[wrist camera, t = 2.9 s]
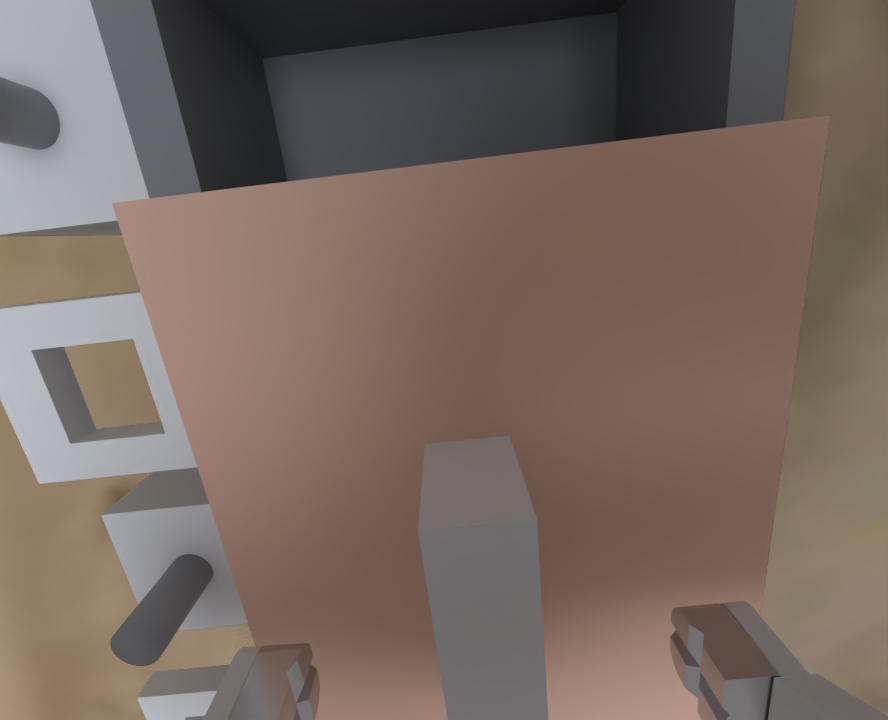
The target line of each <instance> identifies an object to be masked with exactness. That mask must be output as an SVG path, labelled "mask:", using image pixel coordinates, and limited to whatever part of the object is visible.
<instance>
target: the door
mask: <svg viewBox="0 0 888 720" xmlns="http://www.w3.org/2000/svg"><path fill="white" fill-rule="evenodd" d="M830 117H831V115H825V116H817V117H809V118H801V119H793V120H785V121H777V122H768V123H760V124H752V125H744V126H736V127H728V128H720V129H711V130H703V131H695V132H687V133H679V134H671V135H663V136H654V137H646V138H638V139H630V140H622V141H614V142H606V143H597V144H589V145H581V146H573V147H565V148H557V149H549V150H540V151H532V152H524V153H516V154H508V155H500V156H492V157H483V158H475V159H467V160H459V161H451V162H443V163H435V164H426V165H418V166H410V167H402V168H394V169H386V170H378V171H369V172H361V173H353V174H345V175H337V176H329V177H321V178H312V179H304V180H296V181H288V182H280V183H272V184H264V185H255V186H247V187H239V188H231V189H223V190H215V191H207V192H198V193H190V194H182V195H174V196H166V197H158V198H150V199H141V200H133V201H125V202H117V203H112V205H113V209H114V212H115V215H116V218H117V221H118V224H119V227H120V230H121V233H122V236H123V239H124V242H125V246H126V249H127V252H128V255H129V258H130V261H131V264H132V267H133V270H134V273H135V276H136V279H137V282H138V286H139V289H140V291H132V292H124V293H115V294H107V295H98V296H90V297H81V298H72V299H64V300H55V301H47V302H38V303H30V304H21V305H12V306H4V307H0V399H1V401H2V404H3V406H4V408H5V410H6V412H7V415H8V417H9V419H10V421H11V423H12V426H13V428H14V430H15V432H16V434H17V436H18V439H19V441H20V443H21V445H22V447H23V450H24V452H25V454H26V456H27V458H28V461H29V463H30V465H31V467H32V469H33V472H34V474H35V476H36V478H37V480H38V482H39V484H42V483H52V482H61V481H71V480H80V479H90V478H99V477H109V476H119V475H128V474H138V473H147V472H157V471H167V470H176V469H186V468H195V467H198V470H199V474H200V477H201V480H202V483H203V486H204V489H205V492H206V495H207V498H208V501H209V504H210V507H211V511H212V514H213V517H214V520H215V523H216V526H217V529H218V532H219V535H220V538H221V541H222V544H223V547H224V551H225V554H226V557H227V560H228V563H229V566H230V569H231V572H232V575H233V578H234V581H235V584H236V588H237V591H238V594H239V597H240V600H241V603H242V606H243V609H244V612H245V615H246V618H247V621H248V625H249V628H250V631H251V634H252V637H253V640H254V643H255V646H268V645H284V644H300V643H310V646H311V649H312V652H313V657H312V660H311V663H310V664H311V665H312V666H314V667H315V668H316V669H317V671H318V675H319V681H320V695H319V705H318V709H317V713H316V717H315V720H702V719H701V717H700V715H699V713H698V712H697V710H698V698H697V697H696V696H694V695H693V694H692V693H690V692H689V691H688V690H687V689H685V687H684V686H683V684H682V682H681V680H680V678H679V676H678V674H677V671H676V669H675V666H674V664H673V660H672V655H671V651H670V636H671V635H672V634H673V633H674V632H675V631H676V629H675V627H674V626H673V624H672V622H671V613H672V611H673V609H674V608H676V607H685V606H695V605H704V604H713V603H719V604H720V603H728V602H738V601H745V602H747V603H748V604H750V605H751V606H752V607H753V608H754V610H755V611H756V612H757V613H758V614H759V615H760V616H761V609H762V602H763V594H764V587H765V580H766V573H767V566H768V559H769V552H770V544H771V537H772V530H773V523H774V516H775V509H776V502H777V495H778V487H779V480H780V473H781V466H782V459H783V452H784V445H785V437H786V430H787V423H788V416H789V409H790V402H791V395H792V388H793V380H794V373H795V366H796V359H797V352H798V345H799V338H800V330H801V323H802V316H803V309H804V302H805V295H806V288H807V281H808V273H809V266H810V259H811V252H812V245H813V238H814V231H815V223H816V216H817V209H818V202H819V195H820V188H821V181H822V174H823V166H824V159H825V152H826V145H827V138H828V131H829V124H830ZM127 339H133V340H134V343H135V346H136V349H137V352H138V355H139V357H140V360H141V363H142V366H143V369H144V372H145V375H146V378H147V381H148V384H149V387H150V390H151V393H152V396H153V399H154V401H155V404H156V407H157V410H158V413H159V416H160V419H161V422H157V423H148V424H139V425H129V426H120V427H111V428H101V429H96V428H95V425H94V423H93V420H92V418H91V415H90V413H89V410H88V408H87V405H86V403H85V400H84V397H83V395H82V392H81V390H80V387H79V385H78V382H77V380H76V377H75V375H74V372H73V369H72V367H71V364H70V362H69V359H68V357H67V354H66V352H65V349H64V347H65V346H74V345H83V344H92V343H101V342H109V341H118V340H127ZM229 666H230V665H222V666H211V667H200V668H189V669H178V670H167V671H156V672H153V674H152V676H151V677H150V679H149V680H148V682H147V683H146V685H145V686H144V688H143V689H142V691H141V692H140V694H139V695H138V697H137V699H138V701H139V704H140V706H141V708H142V710H143V712H144V715H145V717H146V719H147V720H203V719H204V717H205V715H206V713H207V711H208V709H209V707H210V704H211V702H212V700H213V698H214V696H215V694H216V692H217V690H218V688H219V686H220V684H221V682H222V680H223V678H224V676H225V674H226V672H227V670H228V668H229Z"/></svg>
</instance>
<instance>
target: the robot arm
mask: <svg viewBox="0 0 888 720" xmlns="http://www.w3.org/2000/svg"><path fill="white" fill-rule="evenodd" d="M671 622H672V624H673V626H674V627H675V629H676V631H675V632H674V633H673V634H672V635H671V636H670V651H671V655H672V660H673V664H674V666H675V669H676V671H677V674H678V676H679V678H680V680H681V682H682V684H683V686H684V687H685V689H687V690H688V691H689V692H690V693H692V694H693V695H694V696H696V697H697V698H698V710H697V712H698V713H699V715H700V717H701V719H702V720H888V717H887V716H886V715H884V714H882V713H881V712H879V711H878V710H876V709H874V708H873V707H871V706H869V705H868V704H866V703H864V702H863V701H861V700H859V699H858V698H856V697H854V696H853V695H851V694H850V693H848V692H846V691H845V690H843V689H841V688H840V687H838V686H836V685H835V684H833V683H831V682H830V681H828V680H826V679H825V678H823V677H822V676H820V675H818V674H809V673H808V672H807V671H806V670H805V668H804V667H803V666H802V665H801V664H800V662H799V661H798V660H797V659H796V658H795V657H794V655H793V654H792V653H791V652H790V651H789V650H788V648H787V647H786V646H785V645H784V644H783V642H782V641H781V640H780V639H779V638H778V637H777V635H776V634H775V633H774V632H773V631H772V630H771V628H770V627H769V626H768V625H767V624H766V622H765V621H764V620H763V619H762V618H761V617H760V615H759V614H758V613H757V612H756V611H755V610H754V608H753V607H752V606H751V605H750V604H748V603H747V602H745V601H738V602H728V603H720V604H719V603H713V604H704V605H695V606H685V607H676V608H674V609H673V611H672V613H671ZM312 657H313V652H312V649H311V646H310V643H300V644H284V645H268V646H256V647H243V648H241V649H240V650H239V651H238V652H237V653H236V655H235V656H234V658H233V660H232V662H231V664H230V666H229V668H228V670H227V672H226V674H225V676H224V678H223V680H222V682H221V684H220V686H219V688H218V690H217V692H216V694H215V696H214V698H213V700H212V702H211V704H210V707H209V709H208V711H207V713H206V715H205V717H204V719H203V720H315V717H316V713H317V709H318V705H319V695H320V681H319V675H318V671H317V669H316V668H315V667H314V666H312V665H311V664H310V663H311V660H312Z"/></svg>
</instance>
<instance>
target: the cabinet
mask: <svg viewBox="0 0 888 720" xmlns="http://www.w3.org/2000/svg"><path fill="white" fill-rule="evenodd" d="M795 3H796V0H0V236H94V235H122V233H121V230H120V227H119V224H118V221H117V218H116V215H115V212H114V209H113V205H112V203H117V202H125V201H133V200H141V199H150V198H158V197H166V196H174V195H182V194H190V193H198V192H207V191H215V190H223V189H231V188H239V187H247V186H255V185H264V184H272V183H280V182H288V181H296V180H304V179H312V178H321V177H329V176H337V175H345V174H353V173H361V172H369V171H378V170H386V169H394V168H402V167H410V166H418V165H426V164H435V163H443V162H451V161H459V160H467V159H475V158H483V157H492V156H500V155H508V154H516V153H524V152H532V151H540V150H549V149H557V148H565V147H573V146H581V145H589V144H597V143H606V142H614V141H622V140H630V139H638V138H646V137H654V136H663V135H671V134H679V133H687V132H695V131H703V130H711V129H720V128H728V127H736V126H744V125H752V124H760V123H768V122H777V121H782V120H783V111H784V102H785V93H786V84H787V75H788V66H789V57H790V48H791V39H792V30H793V21H794V12H795ZM101 516H102V518H103V521H104V523H105V525H106V528H107V530H108V533H109V535H110V537H111V540H112V542H113V545H114V547H115V549H116V552H117V554H118V557H119V559H120V561H121V564H122V566H123V569H124V571H125V573H126V576H127V578H128V581H129V583H130V585H131V588H132V590H133V593H134V595H135V597H136V600H137V602H138V606H137V607H136V608H135V609H134V611H133V612H132V613H131V614H130V616H129V617H128V618H127V619H126V620H125V622H124V623H123V624H122V625H121V627H120V628H119V629H118V630H117V632H116V633H115V634H114V635H113V637H112V639H111V648H112V651H113V652H114V654H115V655H116V656H117V657H118V658H119V659H121V660H122V661H124V662H126V663H128V664H131V665H136V666H146V665H150V664H153V663H155V662H156V661H157V660H158V659H159V658H160V656H161V655H162V653H163V652H164V650H165V649H166V647H167V646H168V644H169V643H170V641H171V640H172V638H173V637H174V635H175V634H176V632H177V631H179V630H189V629H200V628H211V627H221V626H232V625H243V624H248V621H247V618H246V615H245V612H244V609H243V606H242V603H241V600H240V597H239V594H238V591H237V588H236V584H235V581H234V578H233V575H232V572H231V569H230V566H229V563H228V560H227V557H226V554H225V551H224V547H223V544H222V541H221V538H220V535H219V532H218V529H217V526H216V523H215V520H214V517H213V514H212V511H211V507H210V504H209V501H208V498H207V495H206V492H205V489H204V486H203V483H202V480H201V477H200V474H199V470H198V467H195V468H186V469H176V470H167V471H157V472H152V473H151V474H150V475H149V476H147V477H146V478H145V479H144V480H143V481H141V482H140V483H139V484H138V485H137V486H135V487H134V488H133V489H132V490H131V491H129V492H128V493H127V494H126V495H125V496H123V497H122V498H121V499H120V500H118V501H117V502H116V503H115V504H114V505H112V506H111V507H110V508H109V509H108V510H106V511H105V512H104V513H103V514H102V515H101Z"/></svg>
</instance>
